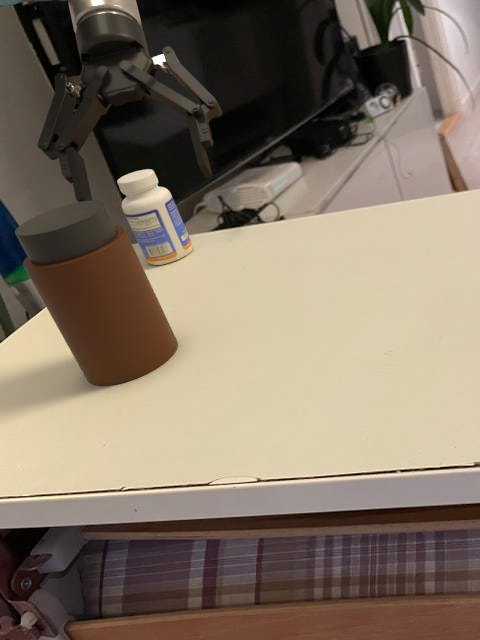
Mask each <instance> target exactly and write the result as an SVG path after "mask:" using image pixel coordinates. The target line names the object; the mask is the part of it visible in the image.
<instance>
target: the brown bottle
mask: <svg viewBox="0 0 480 640" xmlns="http://www.w3.org/2000/svg"><path fill="white" fill-rule="evenodd" d="M14 233H15V236H16V238H17V239H18V241H19V243H20V245H21V247H22V249H23V251H24V253H25V254H26V258H25V259H24V260H23V262H22V266H23V268H24V270H25V271H26V273H27V275H28V276H29V278H30V280H31V282H32V284H33V286H34V288H35V289H36V291H37V293H38V294H39V296H40V298H41V300H42V302H43V304H44V306H45V307H46V309H47V311H48V313H49V314H50V317H51V318H52V320H53V322H54V323H55V325H56V327H57V329H58V331H59V332H60V334H61V336H62V338H63V340H64V341H65V343H66V345H67V347H68V349H69V350H70V353H71V354H72V355H73V357H74V359H75V361H76V363H77V365H78V366H79V368H80V370H81V372H82V374H83V376H84V377H85V379H86V380H87V382H88V383H90V384H92V385H96V386H101V387H102V386H104V387H105V386H114V385H119V384H123V383H126V382H130V381H132V380H135V379H136V380H137V379H138V378H140V377H143V376H145V375H147V374H149V373H151V372H153V371H155V370H156V369H158V368H160V367H161V366H162V365H164V364H166V362H167V361H168V360H170V359H171V358H172V357H173V356H174V355H175V353H176V351H177V350H178V347H179V341H178V340H177V337H176V335H175V333H174V331H173V329H172V326H171V324H170V323H169V320H168V318H167V315H166V314H165V312H164V310H163V307H162V305H161V303H160V301H159V299H158V297H157V295H156V293H155V290H154V288H153V286H152V284H151V282H150V280H149V278H148V275H147V274H146V271H145V269H144V267H143V264H142V263H141V261H140V259H139V256H138V255H137V252H136V249H135V248H134V245H133V244H132V241H131V239H130V237H129V235H128V233H127V231H126V229H125V227H123V226H121V225H115V224H114V221H113V219H112V218H111V215H110V213H109V211H108V209H107V207H106V204H105V202H103V201H102V200H98V199H95V200H94V199H92V200H90V201H82V202H78V201H77V202H73V203H70V204H66V205H62V206H59V207H56V208H53V209H49V210H47V211H44V212H42V213H40V214H38V215H35V216H34V217H32V218H30V219H28V220H26V221H24V222H23V223H21V224H20V225H19V226H18V227H16V229H15V230H14Z"/></svg>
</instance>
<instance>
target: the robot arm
mask: <svg viewBox="0 0 480 640" xmlns="http://www.w3.org/2000/svg"><path fill="white" fill-rule="evenodd" d="M25 2H26V3H28V2H29V3H30V2H67V3H68V8H69V13H70V17H71V22H72V27H73V32H74V33H75V40H76V45H77V50H78V53H79V58H80V62H81V67H82V69H81V72H80V74H79V75H72V76H66V74H65V73H63V72H58V73H56V74H55V75H54V87H55V88H54V89H55V91H54V94H53V97H52V100H51V102H50V105H49V109H48V111H47V115H46V118H45V121H44V122H43V123H44V124H43V125H42V126H43V127H42V130H41V132H40V135H39V138H38V141H37V148H38V150H40V151H41V152H42V153H43V155H45V156H46V157H47V158H48V159H49V160H50V161H55V160H56V161H57V160H58V162H59V166H60V172H61V175H62V176H63V178H64V179H65V180H66V181H67V182H68V183H69V184H71V185H72V187H73V192H74V196H75V200H76V201H77V202H82V201H90V200H93V196H92V192H91V191H92V190H91V187H90V182H89V177H88V173H87V169H86V168H87V167H86V164H85V159H84V158H83V157H82V155H81V154H80V151H81V150H82V148H83V146H84V145H85V143H86V141H87V139H88V138H89V137H90V135H91V134H92V132H93V130H94V128H95V127H96V125H97V123H98V122H99V121H100V119H101V117H102V116H105V115H107V113H108V111H109V109H110V108H111V106H112V105H114V107H119V106H123V105H124V104H126V103H128V102H131V103H132V102H139V101H142V98H143V97H145V96H147V97H149V98H150V99H153V100H154V101H156V102H160V103H161V104H163V105H165V106H167V107H168V108H170V109H171V110H173V111H175V112H176V113H178V114H180V115H181V116H183V117H185V120H186V122H187V126H188V130H189V135H190V139H191V142H192V146H193V150H194V154H195V158H196V162H197V166H198V168H199V170H200V171H201V172H202V174H203V176H204V177H205V179H210V178H213V173H212V167H211V164H210V161H209V157H208V153H207V149H209V148H213V146H214V140H213V136H212V131H211V128H210V121H211V120H213V119H214V118H216V119H217V118H218V119H219V118H220V117H221V116H222V115H223V110H222V109H221V106H220V105H219V102H218V101H217V99H216V98H215V97H214V96H213V95H212V93H211V92H210V91H208V89H207V88H205V86H203V85H202V84H201V82H199V81H198V79H196V78H195V77H194V75H193V74H191V73H190V72H189V71H188V70H187V68H186V67H184V65H182V64H181V62H180V60H179V58H178V56H177V55H176V53H175V51H174V49H173V48H172V47H171V46H169V45H167V46H165V47H163V48H162V53H161V54H157V55H155V56H152V57H151V56H150V52H149V48H148V44H147V41H146V36H145V35H146V34H145V31H144V29H143V23H142V20H141V16H140V15H141V14H140V11H139V7H138V3H137V0H0V8H8V7H12V6H14V5H17V4H20V3H25ZM158 70H163V71H164V73H166V74H169V75H173V76H174V78H175V79H176V81H178V82H179V84H180V85H181V86H182V87H183V88H184V89H185V90H186V91H187V92H188V93H189V94H190V95H191V96H192V97H193V98H194V99H195V100H196V101H197V103H195V102H194V101H192V100H191V99H189V98H187V97H185V96H184V95H182V94H180V93H178V91H175V90H173V89H172V88H170V87H168V86H167V85H165V84H164V83H162V82H160V81H159V80H157V79H156V78H155V77H156V76H157V73H158ZM83 88H85V89H84V92H83V94H82V100H81V102H80V104H78V106H77V108H76V104H77V99H79V98H80V97H81V95H80V92H81V90H82V89H83ZM75 108H76V110H75Z"/></svg>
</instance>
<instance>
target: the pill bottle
mask: <svg viewBox="0 0 480 640" xmlns="http://www.w3.org/2000/svg"><path fill="white" fill-rule="evenodd" d="M116 182H117V185H118V188H119V191H120V192H121V193H122V195H125V198H124V199H123V200H122V201H121V209H122V212H123V214H124V216H125V218H126V221H127V223H128V225H129V226H130V228H131V231H132V232H133V236H134V237H135V240H136V242H137V243H138V246H139V247H140V250H141V252H142V254H143V256H144V258H145V260H146V262H147V263H148V264H149V265H152V266H162V265H166V264H170V263H173V262H176V261H178V260H180V259H183V258H184V257H186V256H188V255H189V254H190V253H191V252H192V251H193V248H194V246H193V242H192V240H191V237H190V234H189V233H188V230H187V228H186V226H185V223H184V221H183V219H182V216H181V214H180V212H179V209H178V207H177V205H176V203H175V199H174V198H173V195H172V194H171V192H170V190H169V189H168V188H166V187H164V186H159V185H158V184H159V179H158V177H157V174H156V173H155V171H154V170H153V169H150V168H146V169H141V170H136V171H133V172H129V173H127V174H125V175H123V176H121V177H119V178H118V179H117V181H116Z"/></svg>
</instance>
